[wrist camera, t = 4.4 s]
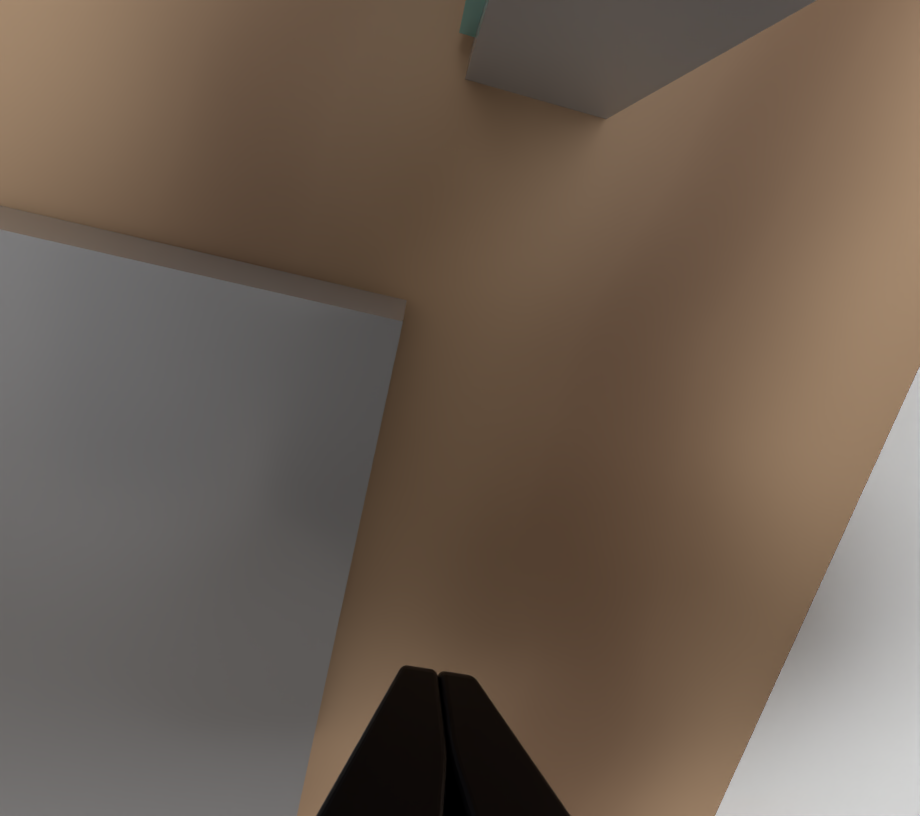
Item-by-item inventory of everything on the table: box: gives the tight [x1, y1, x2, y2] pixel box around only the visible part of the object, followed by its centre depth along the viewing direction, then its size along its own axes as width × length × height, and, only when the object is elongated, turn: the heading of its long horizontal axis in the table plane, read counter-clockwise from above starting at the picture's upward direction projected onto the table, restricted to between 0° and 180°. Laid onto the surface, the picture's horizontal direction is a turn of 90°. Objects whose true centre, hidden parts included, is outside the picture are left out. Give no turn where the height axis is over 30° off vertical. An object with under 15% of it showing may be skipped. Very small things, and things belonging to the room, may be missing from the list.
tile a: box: [0, 205, 407, 816], centre depth 8 cm, size 2×8×8 cm
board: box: [0, 0, 920, 816], centre depth 9 cm, size 20×22×1 cm
